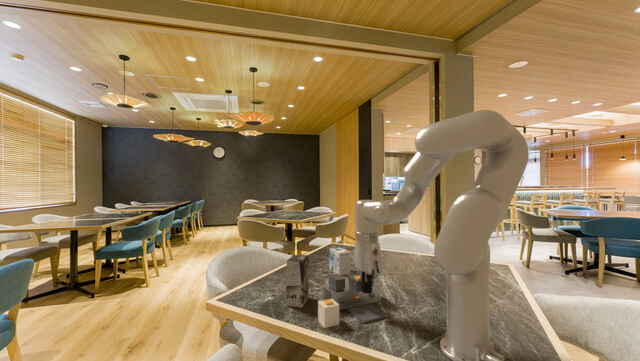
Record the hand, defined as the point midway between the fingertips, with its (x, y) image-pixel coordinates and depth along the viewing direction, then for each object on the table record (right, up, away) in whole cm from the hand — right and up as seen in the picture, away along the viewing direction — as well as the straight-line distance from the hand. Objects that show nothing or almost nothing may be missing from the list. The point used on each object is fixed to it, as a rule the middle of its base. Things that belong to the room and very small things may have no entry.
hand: (366, 292), depth 88 cm
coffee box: (-24, -8, +10) cm, 27 cm away
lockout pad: (0, -7, 0) cm, 7 cm away
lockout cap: (-13, -7, -5) cm, 16 cm away
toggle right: (+1, -1, +12) cm, 12 cm away
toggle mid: (-2, -1, +6) cm, 6 cm away
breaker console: (-4, -8, +9) cm, 13 cm away
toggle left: (-10, -1, +7) cm, 12 cm away
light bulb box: (-6, -8, +44) cm, 45 cm away
